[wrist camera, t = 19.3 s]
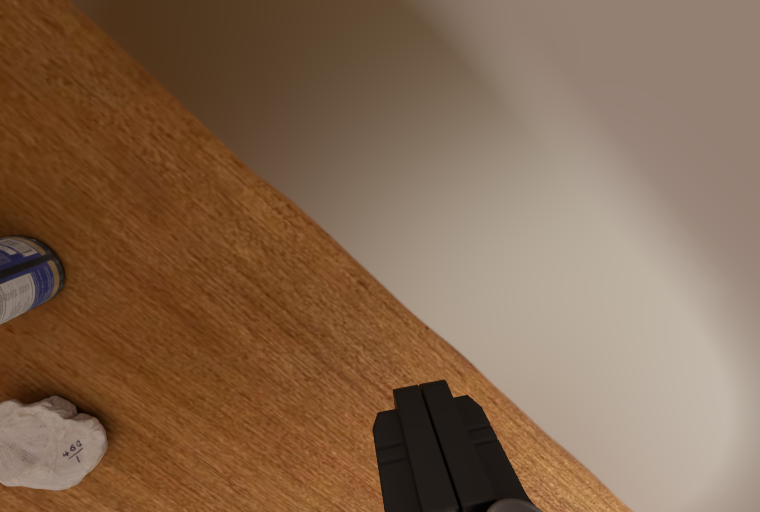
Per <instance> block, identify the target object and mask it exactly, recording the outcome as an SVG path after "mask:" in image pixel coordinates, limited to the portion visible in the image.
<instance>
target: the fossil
mask: <svg viewBox="0 0 760 512" xmlns="http://www.w3.org/2000/svg"><path fill="white" fill-rule="evenodd" d="M107 447H108V441H107V436H106V431H105V429H104V427H103V426H102V425H101V424H100V423H99V421H98V419H97V418H95V417H91V416H90V415H88V414H83V413H81V414H78V413H77V410H76V406H75V405H74V404H72V403H71V402H69V401H67V400H65V399H63V398H61V397H59V396H51V397H50V398H45V399H43V400H41V401H40V402H34V403H32V404H23V403H21V402H20V401H19V400H18V399H12V400H7V401H3V402H1V403H0V483H2V484H3V485H6V486H25V487H29V488H35V489H50V490H55V491H57V490H64V489H67V488H70V487H72V486H74V485H76V484H78V483H79V482H81V480H82V479H83V477H84V476H85V475H86V474H87V473H89V472H90V471H92V470H93V469H94V468H95V467H96V466H97V465H98V463H99V462H100V460H101V459H102V457H103V455H104V454H105V452H106V449H107Z"/></svg>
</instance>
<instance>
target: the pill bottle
mask: <svg viewBox="0 0 760 512" xmlns="http://www.w3.org/2000/svg"><path fill="white" fill-rule="evenodd" d="M63 283H64V270H63V267H62V265H61V262H60V261H59V259H58V258H57V256H56V255H55V254H54V253H53V252H52V251H51V249H49V248H48V247H47V246H46V245H44V244H43V243H41V242H39V241H38V240H36V239H33V238H31V237H26V236H22V235H17V236H7V237H4V238H0V324H2V323H4V322H7V321H9V320H11V319H13V318H15V317H16V316H19V315H21V314H23V313H25V312H27V311H29V310H31V309H33V308H35V307H36V306H38V305H41V304H43V303H45V302H47V301H48V300H50V299H52V298H53V297H55V296H56V295H57V294H58V293H59V292H60V290H61V289H62V287H63Z"/></svg>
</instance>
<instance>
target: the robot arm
mask: <svg viewBox="0 0 760 512" xmlns="http://www.w3.org/2000/svg"><path fill="white" fill-rule="evenodd" d="M393 397H394V405H395V409H394V410H388V411H383V412H378V414H377V417H376V420H375V423H374V426H373V436H374V443H375V449H376V456H377V463H378V470H379V476H380V483H381V490H382V497H383V503H384V510H385V512H542V511H541V510H540V509H539V508H538V507H536V506H535V505H534V504H533V503H532V501H531V500H530V499H529V498H528V496H527V494H526V493H525V491H524V489H523V487H522V485H521V483H520V481H519V479H518V477H517V475H516V473H515V471H514V469H513V467H512V465H511V463H510V462H509V460H508V458H507V456H506V454H505V452H504V450H503V448H502V446H501V444H500V442H499V440H497V436H496V434H495V432H494V430H493V428H492V426H490V422H489V420H488V418H487V416H486V415H485V413H484V411H483V409H482V407H481V406H480V405H479V404H477V403H476V402H475V401H474V400H473V399H472V398H470V397H469V396H468V395H465V396H460V397H455V398H453V396H452V394H451V391H450V389H449V387H448V384H447V382H446V381H445V380H439V381H434V382H429V383H423V384H419V386H418V385H413V386H408V387H403V388H398V389H393Z"/></svg>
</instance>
